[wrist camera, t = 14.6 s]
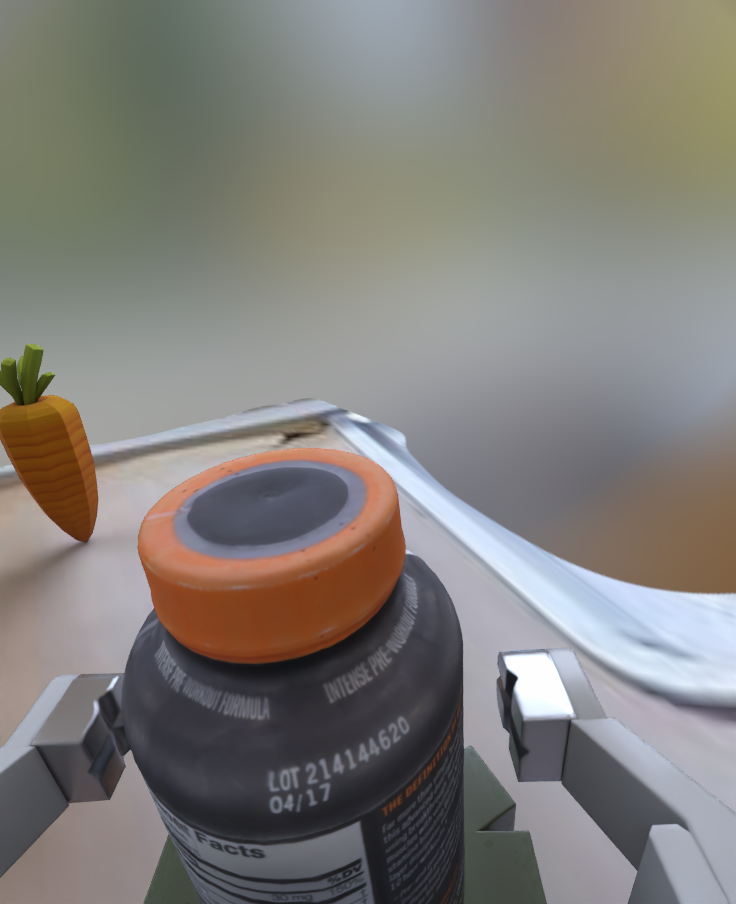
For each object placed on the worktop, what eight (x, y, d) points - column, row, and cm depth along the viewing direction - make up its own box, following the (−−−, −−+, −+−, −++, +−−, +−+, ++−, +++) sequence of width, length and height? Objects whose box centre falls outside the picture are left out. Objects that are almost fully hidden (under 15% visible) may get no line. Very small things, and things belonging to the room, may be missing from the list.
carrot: (33, 555, 35) (-59, 356, 29) (89, 519, 39) (19, 338, 33) (82, 565, 33) (-5, 356, 27) (135, 527, 38) (70, 338, 31)
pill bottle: (374, 723, 16) (339, 401, 11) (517, 910, 11) (561, 497, 6) (195, 848, 13) (44, 484, 8) (290, 1170, 8) (70, 765, 4)
